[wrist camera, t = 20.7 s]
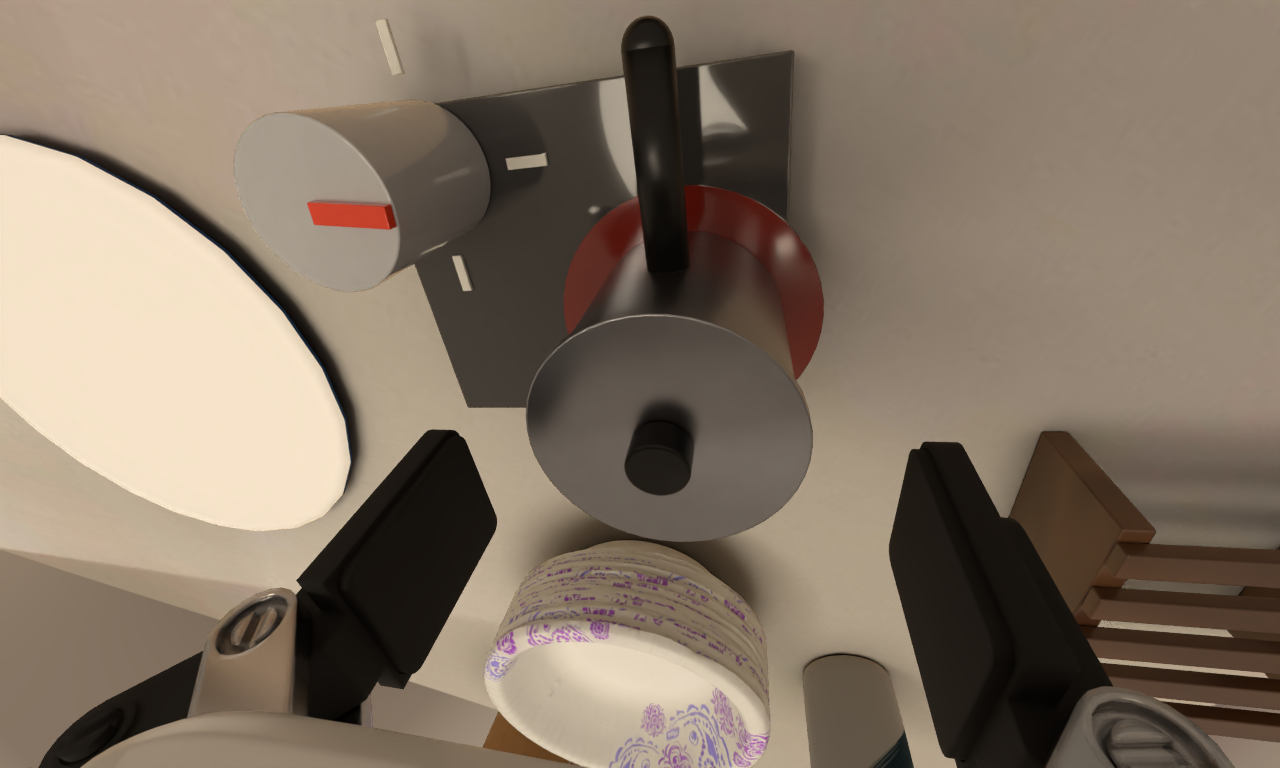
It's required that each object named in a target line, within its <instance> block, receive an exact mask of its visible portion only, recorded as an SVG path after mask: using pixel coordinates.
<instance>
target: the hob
mask: <svg viewBox="0 0 1280 768" xmlns="http://www.w3.org/2000/svg"><path fill="white" fill-rule="evenodd" d="M375 24H376V27H377V30H378V33H379V36H380V39H381V42H382V45H383V48H384V51H385V54H386V57H387V60H388V63H389V66H390V69H391V72H392V75H400V74H405V73H404V69H403V66H402V63H401V60H400V57H399V54H398V51H397V47H396V44H395V41H394V38H393V35H392V32H391V28H390V25H389V22H388V19H381V20H376V21H375ZM793 71H794V51H792V50H790V51H783V52H777V53H770V54H763V55H757V56H750V57H743V58H736V59H730V60H723V61H716V62H710V63H703V64H696V65H689V66H683V67H676V73H677V88H678V102H679V116H680V130H681V144H682V158H683V172H684V185H703V186H712V187H718V188H722V189H726V190H730V191H734V192H737V193H739V194H742V195H744V196H747V197H749V198H751V199H754V200H755V201H757V202H759V203H761V204H762V205H764V206H766V207H767V208H769V209H771V210H772V211H773V212H774V213H776V214H777V215H778V216H779V217H781V218H782V219H783V220H784V221H785V222H786V223H787V224H788V213H789V184H790V156H791V128H792V99H793ZM434 104H436V105H438V106H441V107H442V108H444V109H446V110H448V111H449V112H450V113H452V114H453V115H455V116H456V117H457V118H458V119H459V120H460V121H461V122H462V123H463V124H464V125H465V126H466V127H467V128H468V129H469V130H470V131H471V133H472V134H473V136H474V137H475V139H476V140H477V142H478V144H479V145H480V147H481V149H482V151H483V154H484V156H485V158H486V162H487V165H488V169H489V174H490V182H491V191H490V199H489V204H488V207H487V210H486V212H485V214H484V216H483V217H482V219H481V220H480V222H479V223H478V224H477V225H476V226H475V227H474V228H472V229H471V230H470V231H468V232H466V233H465V234H463V235H461V236H460V237H458V238H456V239H455V240H453V241H451V242H450V243H448V244H446V245H445V246H443V247H441V248H440V249H438V250H436V251H435V252H433V253H431V254H430V255H428V256H426V257H425V258H423V259H421V260H420V261H418V262H416V263H415V267H416V269H417V272H418V275H419V277H420V280H421V283H422V285H423V288H424V291H425V293H426V296H427V299H428V301H429V304H430V307H431V310H432V312H433V315H434V318H435V320H436V323H437V326H438V328H439V331H440V334H441V336H442V339H443V342H444V344H445V347H446V350H447V353H448V355H449V358H450V361H451V363H452V366H453V369H454V371H455V374H456V377H457V379H458V382H459V385H460V387H461V390H462V393H463V395H464V398H465V401H466V404H467V406H468V407H469V408H526V407H527V398H528V394H529V391H530V387H531V384H532V382H533V380H534V377H535V375H536V373H537V371H538V370H539V368H540V367H541V365H542V364H543V362H544V361H545V359H546V358H547V356H548V355H549V353H550V352H551V351H552V350H553V349H554V348H555V347H556V346H557V344H558V343H559V342H560V341H561V340H563V339H564V338H565V337H566V336H568V335H569V334H568V331H567V327H566V322H565V315H564V290H565V282H566V278H567V274H568V270H569V267H570V264H571V262H572V259H573V257H574V255H575V252H576V251H577V249H578V247H579V246H580V244H581V242H582V241H583V239H584V238H585V236H586V235H587V234H588V233H589V231H590V230H591V229H592V228H593V227H594V225H595V224H596V223H597V222H599V221H600V220H601V219H602V218H603V217H604V216H605V215H606V214H607V213H609V212H610V211H611V210H613V209H614V208H616V207H617V206H619V205H620V204H622V203H623V202H625V201H627V200H629V199H632V198H634V197H636V196H638V189H637V180H636V172H635V163H634V155H633V146H632V138H631V129H630V121H629V113H628V104H627V96H626V87H625V79H624V75H622V76H615V77H609V78H602V79H595V80H589V81H582V82H575V83H568V84H562V85H555V86H548V87H542V88H535V89H528V90H521V91H515V92H508V93H501V94H494V95H488V96H481V97H474V98H468V99H461V100H454V101H447V102H441V103H434Z"/></svg>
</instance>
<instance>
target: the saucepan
mask: <svg viewBox="0 0 1280 768" xmlns="http://www.w3.org/2000/svg"><path fill="white" fill-rule="evenodd" d="M621 54H622V62H623V70H624V79H625V87H626V96H627V104H628V113H629V121H630V129H631V138H632V146H633V155H634V163H635V172H636V180H637V189H638V197H639V205H640V214H641V222H642V231H643V239H644V242H643V243H641V244H640V245H638V246H636V247H635V248H633V249H632V250H631V251H629V252H628V253H627V254H626V255H625V256H624V257H623V258H622V259H621V260H620V261H619V262H618V263H617V264H616V265H615V267H614V268H613V270H612V271H611V273H610V274H609V276H608V277H607V279H606V280H605V282H604V284H603V285H602V287H601V288H600V290H599V291H598V293H597V295H596V296H595V298H594V299H593V301H592V302H591V304H590V305H589V307H588V309H587V310H586V312H585V313H584V315H583V316H582V318H581V319H580V321H579V323H578V324H577V326H576V327H575V329H574V330H573V332H572V333H570V334H569V335H568V336H566V337H565V338H564V339H563V340H561V341H560V342H559V343H558V344H557V346H556V347H555V348H554V349H553V350H552V351H551V352H550V353H549V355H548V356H547V358H546V359H545V361H544V362H543V364H542V365H541V367H540V368H539V370H538V371H537V373H536V375H535V377H534V380H533V382H532V384H531V387H530V391H529V394H528V398H527V407H526V423H527V432H528V436H529V440H530V444H531V447H532V449H533V452H534V455H535V457H536V459H537V461H538V463H539V464H540V466H541V468H542V470H543V471H544V473H545V474H546V475H547V477H548V478H549V480H550V481H551V482H552V483H553V484H554V486H555V487H556V488H557V489H558V490H559V491H560V492H561V493H562V494H563V495H564V496H565V497H566V498H567V499H568V500H570V501H571V502H572V503H573V504H574V505H576V506H577V507H578V508H580V509H581V510H583V511H584V512H585V513H587V514H589V515H590V516H592V517H594V518H595V519H597V520H599V521H601V522H603V523H605V524H607V525H609V526H611V527H614V528H616V529H619V530H622V531H624V532H627V533H630V534H634V535H638V536H641V537H646V538H651V539H656V540H664V541H674V542H694V541H707V540H712V539H718V538H723V537H727V536H730V535H734V534H737V533H740V532H742V531H745V530H747V529H750V528H752V527H754V526H756V525H758V524H760V523H761V522H763V521H765V520H766V519H768V518H769V517H771V516H772V515H773V514H775V513H776V512H778V511H779V510H780V509H781V508H782V507H783V506H784V505H785V504H786V503H787V502H788V501H789V500H790V499H791V497H792V496H793V495H794V493H795V492H796V491H797V490H798V488H799V486H800V484H801V482H802V481H803V479H804V477H805V475H806V472H807V469H808V466H809V464H810V460H811V454H812V448H813V430H812V425H811V419H810V414H809V409H808V405H807V402H806V400H805V397H804V394H803V392H802V390H801V388H800V386H799V384H798V382H797V381H796V379H795V377H794V372H793V367H792V361H791V355H790V349H789V343H788V337H787V331H786V326H785V320H784V314H783V308H782V303H781V298H780V295H779V292H778V289H777V286H776V284H775V282H774V280H773V278H772V277H771V275H770V273H769V272H768V271H767V269H766V268H765V267H764V265H763V264H762V263H761V262H760V261H759V260H758V259H757V258H756V257H755V256H754V255H753V254H751V253H750V252H749V251H748V250H746V249H745V248H744V247H742V246H740V245H738V244H737V243H735V242H733V241H731V240H728V239H726V238H723V237H721V236H718V235H714V234H710V233H704V232H696V231H688V229H687V215H686V201H685V186H684V172H683V158H682V144H681V130H680V116H679V102H678V88H677V73H676V59H675V45H674V39H673V36H672V33H671V31H670V29H669V27H668V26H667V25H666V24H665V23H664V22H663V21H662V20H661V19H659V18H657V17H654V16H643V17H639V18H637V19H636V20H634V21H633V22H632V23H631V24H630V25H629V26H628V28H627V29H626V31H625V33H624V35H623V39H622V44H621Z"/></svg>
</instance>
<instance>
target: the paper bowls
mask: <svg viewBox="0 0 1280 768" xmlns="http://www.w3.org/2000/svg"><path fill="white" fill-rule="evenodd" d="M484 681H485V686H486V689H487V692H488V694H489V697H490V699H491V700H492V702H493V704H494V705H495V707H496V708H497V709H498V711H499V712H500V713H501V714H502V715H503V717H504V718H505V719H506V720H507V721H508V722H509V723H510V724H511V725H512V726H514V727H515V728H516V729H517V730H518V731H519V732H521V733H522V734H523V735H525V736H526V737H527V738H529V739H530V740H532V741H533V742H535V743H536V744H538V745H540V746H541V747H543V748H545V749H546V750H548V751H550V752H552V753H554V754H556V755H558V756H560V757H562V758H564V759H566V760H568V761H571V762H573V763H576V764H578V765H581V766H583V767H587V768H750V767H751V766H753V765H754V764H755V763H756V762H757V761H758V760H759V758H760V757H761V756H762V755H763V752H764V751H765V749H766V746H767V743H768V740H769V737H770V730H771V729H770V709H769V690H768V687H769V681H768V663H767V645H766V639H765V635H764V632H763V629H762V626H761V624H760V621H759V619H758V617H757V616H756V614H755V612H754V611H753V610H752V609H751V607H750V606H749V605H748V604H747V603H746V602H745V600H744V599H743V598H742V597H741V596H740V595H739V594H737V593H736V592H735V591H733V590H732V589H731V588H730V587H729V586H728V585H726V584H725V583H723V582H722V581H721V580H719V579H718V578H716V577H715V576H713V575H712V574H711V573H710V572H709V571H708V570H707V569H706V568H704V567H703V566H702V565H701V564H699V563H698V562H697V561H695V560H694V559H692V558H690V557H689V556H687V555H685V554H683V553H681V552H679V551H676V550H674V549H672V548H669V547H666V546H663V545H659V544H656V543H651V542H645V541H636V540H620V541H611V542H605V543H602V544H598V545H595V546H592V547H590V548H588V549H586V550H580V551H575V552H570V553H566V554H563V555H558V556H556V557H554V558H550V559H549V560H547V561H546V562H544V563H542V564H540V565H539V566H537V567H535V568H534V569H533V570H532V571H531V572H530V573H529V574H528V575H527V576H526V577H525V579H524V581H523V582H522V583H521V585H520V587H519V588H518V590H517V591H516V593H515V595H514V597H513V599H512V601H511V604H510V606H509V608H508V610H507V612H506V615H505V617H504V619H503V621H502V623H501V625H500V627H499V630H498V633H497V636H496V638H495V641H494V643H493V646H492V647H491V649H490V651H489V652H488V654H487V657H486V660H485V665H484Z"/></svg>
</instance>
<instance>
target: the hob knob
mask: <svg viewBox="0 0 1280 768" xmlns="http://www.w3.org/2000/svg"><path fill="white" fill-rule="evenodd" d="M234 177H235V184H236V188H237V192H238V196H239V198H240V201H241V204H242V207H243V209H244V211H245V213H246V215H247V217H248V219H249V221H250V222H251V224H252V226H253V228H254V229H255V231H256V232H257V234H258V235H259V236H260V238H261V239H262V241H263V242H264V243H265V244H266V245H267V247H268V248H269V249H270V250H271V251H272V252H273V253H274V254H275V255H276V256H277V257H278V258H279V259H280V260H281V261H282V262H283V263H284V264H286V265H287V266H288V267H289V268H291V269H292V270H293V271H295V272H296V273H297V274H299V275H301V276H302V277H304V278H305V279H307V280H309V281H311V282H313V283H315V284H317V285H320V286H322V287H325V288H328V289H332V290H336V291H343V292H359V291H365V290H368V289H371V288H374V287H376V286H377V285H379V284H381V283H383V282H384V281H386V280H388V279H389V278H391V277H393V276H394V275H396V274H398V273H399V272H401V271H403V270H404V269H406V268H408V267H410V266H411V265H413V264H415V263H416V262H418V261H420V260H421V259H423V258H425V257H426V256H428V255H430V254H431V253H433V252H435V251H436V250H438V249H440V248H441V247H443V246H445V245H446V244H448V243H450V242H451V241H453V240H455V239H456V238H458V237H460V236H461V235H463V234H465V233H466V232H468V231H470V230H471V229H472V228H474V227H475V226H476V225H477V224H478V223H479V222H480V220H481V219H482V217H483V216H484V214H485V212H486V210H487V207H488V204H489V199H490V191H491V182H490V174H489V169H488V165H487V162H486V158H485V156H484V154H483V151H482V149H481V147H480V145H479V144H478V142H477V140H476V139H475V137H474V136H473V134H472V133H471V131H470V130H469V129H468V128H467V127H466V126H465V125H464V124H463V123H462V122H461V121H460V120H459V119H458V118H457V117H456V116H455V115H453V114H452V113H450V112H449V111H448V110H446V109H444V108H442V107H441V106H438V105H436V104H433V103H431V102H427V101H423V100H402V101H392V102H381V103H370V104H360V105H349V106H339V107H328V108H318V109H307V110H297V111H286V112H276V113H271V114H267V115H264V116H262V117H260V118H258V119H256V120H255V121H254V122H252V123H251V124H250V125H249V126H248V127H247V128H246V129H245V131H244V132H243V133H242V135H241V137H240V139H239V141H238V143H237V146H236V150H235V156H234Z"/></svg>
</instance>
